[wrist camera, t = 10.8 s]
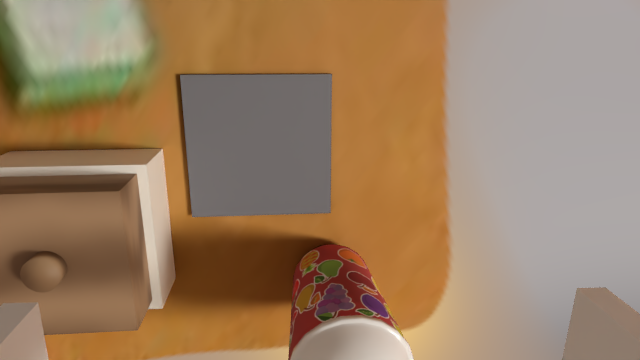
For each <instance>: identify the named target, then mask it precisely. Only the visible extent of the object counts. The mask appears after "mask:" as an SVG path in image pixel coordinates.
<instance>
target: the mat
mask: <svg viewBox="0 0 640 360" xmlns="http://www.w3.org/2000/svg"><path fill="white" fill-rule="evenodd" d="M180 81H181V93H182V104H183V116H184V127H185V139H186V151H187V162H188V174H189V186H190V197H191V209H192V217H210V216H244V215H279V214H313V213H330V203H331V100H332V74H195V75H180Z"/></svg>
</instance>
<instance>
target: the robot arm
mask: <svg viewBox="0 0 640 360" xmlns="http://www.w3.org/2000/svg"><path fill="white" fill-rule="evenodd" d="M0 360H48V354H47V349H46V343H45V338H44V332H43V326H42V321H41V315H40V310H39V304H38V302H35V303H3V304H2V305H1V306H0ZM562 360H640V314H639V313H638V312H636V311H635V310H634V309H632V308H631V307H630V306H629V305H627V304H626V303H625V302H623V301H622V300H621V299H619V298H618V297H617V296H616V295H614V294H613V293H612V292H610V291H609V290H608V289H606V288H577V291H576V296H575V301H574V305H573V311H572V315H571V320H570V325H569V329H568V334H567V339H566V344H565V349H564V353H563V358H562Z"/></svg>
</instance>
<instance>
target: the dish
mask: <svg viewBox="0 0 640 360" xmlns="http://www.w3.org/2000/svg"><path fill="white" fill-rule="evenodd" d="M104 174H137V178H138V186H139V195H140V203H141V211H142V219H143V227H144V236H145V244H146V252H147V260H148V268H149V277H150V285H151V293H152V302H151V304H150V306H149V308H148V309H163V307H164V304H165V302H166V300H167V297H168V295H169V292H170V290H171V288H172V285H173V283H174V281H175V278H176V275H175V265H174V255H173V245H172V236H171V226H170V216H169V206H168V196H167V186H166V176H165V166H164V157H163V149H111V150H53V151H10V152H8V153H5V154H3V155H1V156H0V177H16V176H60V175H104Z"/></svg>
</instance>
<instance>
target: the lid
mask: <svg viewBox="0 0 640 360" xmlns="http://www.w3.org/2000/svg"><path fill="white" fill-rule="evenodd" d="M35 302H38V304H39V310H40V315H41V321H42V326H43V332H44V335H53V334H74V333H94V332H114V331H134V330H138V329H139V327H140V325H141V323H142V321H143V318H144V316H145V314H146V312H147V310H148V308H149V306H150V304H151V302H152V293H151V285H150V277H149V268H148V260H147V252H146V244H145V236H144V227H143V219H142V211H141V203H140V195H139V186H138V178H137V174H104V175H60V176H16V177H0V306H1V305H2V304H3V303H35Z"/></svg>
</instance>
